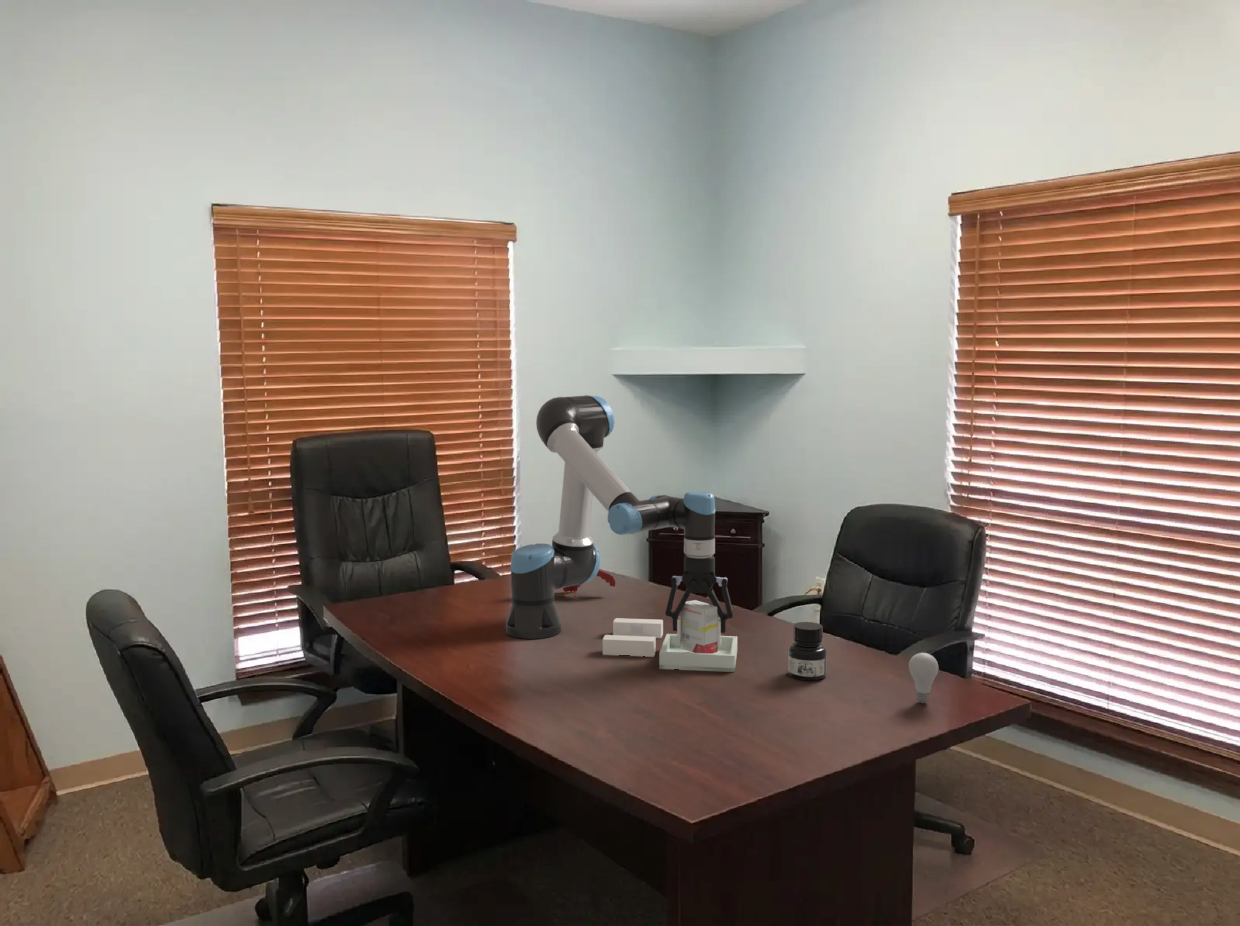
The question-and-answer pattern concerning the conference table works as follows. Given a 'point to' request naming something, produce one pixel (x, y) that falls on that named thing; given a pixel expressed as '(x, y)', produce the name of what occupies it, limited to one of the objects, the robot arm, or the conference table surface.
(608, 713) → the conference table surface
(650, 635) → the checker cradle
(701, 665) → the pale green tray
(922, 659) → the lightbulb
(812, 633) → the ink bottle
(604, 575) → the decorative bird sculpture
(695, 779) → the conference table surface
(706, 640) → the ink box
